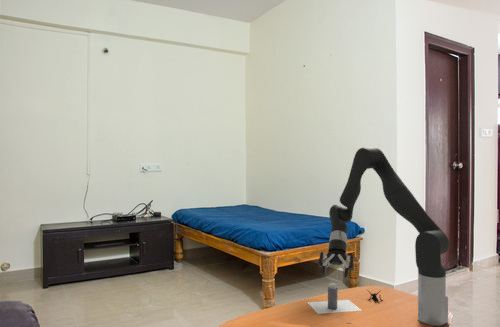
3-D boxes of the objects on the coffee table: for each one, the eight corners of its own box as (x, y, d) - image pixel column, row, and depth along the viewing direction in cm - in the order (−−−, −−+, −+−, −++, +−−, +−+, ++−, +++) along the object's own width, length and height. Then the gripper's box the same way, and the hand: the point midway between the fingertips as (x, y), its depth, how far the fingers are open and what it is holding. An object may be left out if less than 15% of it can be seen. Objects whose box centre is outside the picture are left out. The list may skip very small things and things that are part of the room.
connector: (328, 304, 154) (328, 281, 154) (337, 305, 153) (338, 282, 153) (327, 309, 149) (327, 285, 149) (336, 310, 148) (336, 286, 148)
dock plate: (348, 302, 160) (348, 299, 160) (362, 313, 148) (362, 310, 148) (307, 305, 156) (307, 302, 156) (318, 316, 144) (318, 313, 144)
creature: (387, 310, 155) (382, 298, 163) (388, 298, 154) (383, 287, 162) (367, 309, 156) (363, 298, 164) (368, 297, 155) (364, 286, 162)
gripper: (320, 237, 168) (316, 270, 157) (354, 239, 163) (352, 273, 152) (322, 247, 173) (318, 279, 162) (355, 249, 168) (353, 283, 157)
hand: (334, 276), depth 157 cm, fingers open, 8 cm apart
